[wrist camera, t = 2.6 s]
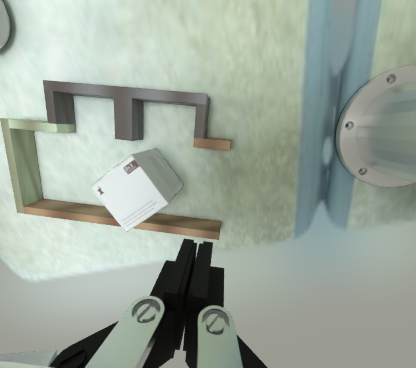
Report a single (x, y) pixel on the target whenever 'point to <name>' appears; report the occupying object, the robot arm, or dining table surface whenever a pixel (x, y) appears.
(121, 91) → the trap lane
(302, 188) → the dining table surface
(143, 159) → the skincare box
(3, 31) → the can
